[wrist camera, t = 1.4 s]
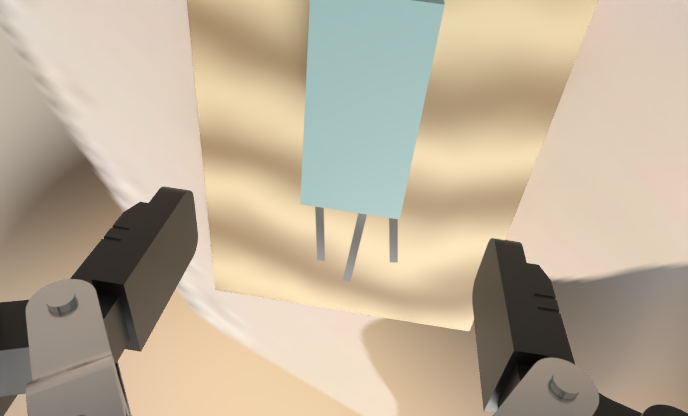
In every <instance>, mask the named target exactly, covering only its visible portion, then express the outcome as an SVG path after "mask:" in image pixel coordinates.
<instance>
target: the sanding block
mask: <svg viewBox="0 0 688 416" xmlns="http://www.w3.org/2000/svg"><path fill="white" fill-rule="evenodd" d="M444 6H445V3H444V0H310V11H309V32H308V53H307V73H306V94H305V115H304V136H303V157H302V178H301V198H300V204H302V205H308V206H315V207H321V208H328V209H334V210H341V211H347V212H354V213H360V214H367V215H373V216H380V217H386V218H393V219H399V220H400V216H401V211H402V206H403V202H404V197H405V192H406V187H407V183H408V178H409V173H410V168H411V163H412V159H413V154H414V149H415V144H416V140H417V135H418V130H419V125H420V120H421V116H422V111H423V106H424V101H425V97H426V92H427V87H428V82H429V78H430V73H431V68H432V63H433V58H434V54H435V49H436V44H437V39H438V35H439V30H440V25H441V20H442V15H443V11H444Z"/></svg>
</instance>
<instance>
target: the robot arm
mask: <svg viewBox="0 0 688 416" xmlns="http://www.w3.org/2000/svg"><path fill="white" fill-rule="evenodd" d="M197 241H198V231H197V222H196V213H195V205H194V197H193V193H192V192H191V191H189V190H183V189H176V188H170V187H161V188H160V189H159V190H158V192H157V193H156V194H155V196H154V197H153V198H152V200H151V201H150V202H149V203H144V202H139V203H138V204H136V205H135V206H133V207H131V208H130V209H128V210H127V211H125V212H123V214H122V215H121V216H120V217H119V219H118V220H117V221H116V222H115V224H114V225H113V228H111V229H110V230H109V231H108V232H107V234H106V235H105V236H104V239H102V240H101V241H100V242H99V243H98V245H97V246H96V247H95V248H94V250H93V251H92V252H91V253H90V255H89V256H88V257H87V258H86V260H85V261H84V262H83V263H82V265H81V266H80V267H79V269H78V270H77V271H76V272H75V273H74V275H73V276H72V277H71V278H70V279H67V280H61V281H57V282H54V283H51V284H49V285H47V286H45V287H43V288H42V289H40V290H39V291H37V292H36V293H35V294H34V295H33V296H32V297H31V298H30V300H24V301H12V302H1V303H0V416H4V414H5V412H6V411H7V410H8V408H9V407H10V405H11V404H12V402H13V401H14V399H15V398H16V396H17V395H18V394H25V393H26V401H27V413H28V416H131V412H130V408H129V404H128V400H127V396H126V392H125V388H124V384H123V380H122V376H121V372H120V368H119V364H118V359H119V357H120V356H121V354H122V352H123V351H124V349H129V350H135V351H141V350H142V348H143V347H144V345H145V343H146V341H147V339H148V338H149V336H150V334H151V332H152V330H153V329H154V327H155V325H156V323H157V321H158V320H159V318H160V316H161V314H162V312H163V310H164V309H165V307H166V305H167V303H168V301H169V300H170V298H171V296H172V294H173V292H174V290H175V289H176V287H177V285H178V283H179V281H180V280H181V278H182V276H183V274H184V272H185V271H186V269H187V267H188V265H189V263H190V261H191V260H192V258H193V256H194V253H195V251H196V247H197ZM472 304H473V313H474V323H475V332H476V342H477V351H478V360H479V369H480V380H481V388H482V399H483V408H484V411H485V412H491V413H494V415H493V416H688V413H685V412H684V411H682V410H680V409H677V408H675V407H672V406H668V405H654V406H651V407H649V408H648V409H646V410H645V411H644V413H643V414H642V413H640V412H637V411H635V410H633V409H631V408H628V407H626V406H624V405H622V404H619V403H617V402H615V401H612V400H611V399H608V398H607V397H605V396H603V395H601V394H600V393H598V390H597V388H596V386H595V384H594V382H593V381H592V379H591V378H590V377H589V376H588V375H587V374H586V373H585V372H584V371H583V370H582V369H581V368H579V367H578V366H576V365H575V363H574V359H573V356H572V352H571V349H570V346H569V342H568V339H567V335H566V332H565V328H564V325H563V321H562V318H561V314H559V308H558V304H557V301H556V300H555V294H554V290H553V286H552V283H551V280H550V279H549V278H548V276H547V275H546V274H545V273H544V271H543V270H542V269H541V267H540V266H539V265H536V264H529V263H526V259H525V255H524V250H523V247H522V244H521V243H520V242H514V241H508V240H501V239H495V238H491V239H490V240H489V242H488V244H487V247H486V250H485V253H484V255H483V258H482V261H481V264H480V266H479V269H478V272H477V275H476V278H475V281H474V285H473V293H472Z"/></svg>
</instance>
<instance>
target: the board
mask: <svg viewBox="0 0 688 416" xmlns="http://www.w3.org/2000/svg"><path fill="white" fill-rule="evenodd" d="M598 1H599V0H444V3H445V6H444V11H443V15H442V20H441V25H440V30H439V35H438V39H437V44H436V49H435V54H434V58H433V63H432V68H431V73H430V78H429V82H428V87H427V92H426V97H425V101H424V106H423V111H422V116H421V120H420V125H419V130H418V135H417V140H416V144H415V149H414V154H413V159H412V163H411V168H410V173H409V178H408V183H407V187H406V192H405V197H404V202H403V206H402V211H401V216H400V220H399V219H393V218H386V217H380V216H373V215H367V214H360V213H354V212H347V211H341V210H334V209H328V208H321V207H315V206H308V205H302V204H300V198H301V178H302V157H303V136H304V115H305V94H306V73H307V53H308V32H309V11H310V0H187V6H188V16H189V26H190V36H191V46H192V57H193V67H194V77H195V87H196V97H197V107H198V118H199V128H200V138H201V148H202V158H203V168H204V179H205V189H206V199H207V209H208V219H209V229H210V240H211V250H212V260H213V270H214V280H215V290H219V291H225V292H231V293H237V294H243V295H250V296H256V297H262V298H268V299H274V300H280V301H286V302H292V303H299V304H305V305H311V306H317V307H323V308H329V309H335V310H341V311H348V312H354V313H360V314H366V315H372V316H378V317H384V318H391V319H397V320H403V321H409V322H415V323H422V324H428V325H433V326H440V327H446V328H452V329H458V330H464V331H470V328H471V326H472V323H473V320H474V313H473V304H472V293H473V285H474V281H475V278H476V275H477V272H478V269H479V266H480V264H481V261H482V258H483V255H484V253H485V250H486V247H487V244H488V242H489V240H490V239H491V238H495V239H501V240H505V239H506V236H507V234H508V231H509V228H510V226H511V223H512V221H513V218H514V216H515V213H516V211H517V208H518V205H519V203H520V200H521V198H522V195H523V193H524V190H525V188H526V185H527V183H528V180H529V177H530V175H531V172H532V170H533V167H534V165H535V162H536V160H537V157H538V154H539V152H540V149H541V147H542V144H543V142H544V139H545V137H546V134H547V131H548V129H549V126H550V124H551V121H552V119H553V116H554V114H555V111H556V108H557V106H558V103H559V101H560V98H561V96H562V93H563V91H564V88H565V85H566V83H567V80H568V78H569V75H570V73H571V70H572V68H573V65H574V63H575V60H576V57H577V55H578V52H579V50H580V47H581V45H582V42H583V40H584V37H585V34H586V32H587V29H588V27H589V24H590V22H591V19H592V17H593V14H594V11H595V9H596V6H597V4H598Z"/></svg>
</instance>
